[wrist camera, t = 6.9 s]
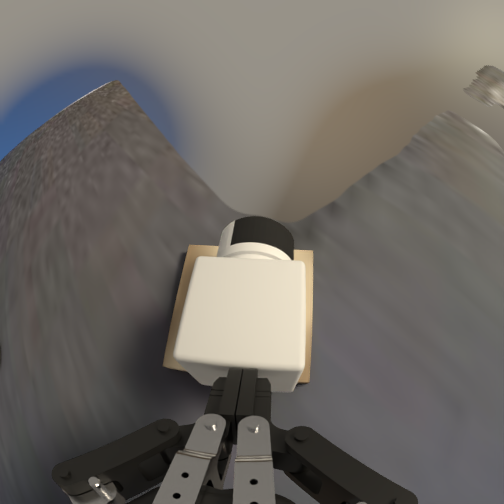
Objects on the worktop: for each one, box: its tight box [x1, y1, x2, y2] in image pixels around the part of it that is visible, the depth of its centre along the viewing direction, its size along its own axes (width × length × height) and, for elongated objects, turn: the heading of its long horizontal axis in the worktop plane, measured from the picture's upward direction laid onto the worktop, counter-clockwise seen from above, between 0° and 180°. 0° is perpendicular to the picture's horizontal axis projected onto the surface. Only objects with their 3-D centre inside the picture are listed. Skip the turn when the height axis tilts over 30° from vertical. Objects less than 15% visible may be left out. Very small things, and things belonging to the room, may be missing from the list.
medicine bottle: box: [173, 216, 306, 392], centre depth 20 cm, size 7×7×12 cm
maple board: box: [163, 245, 313, 383], centre depth 24 cm, size 12×12×1 cm
